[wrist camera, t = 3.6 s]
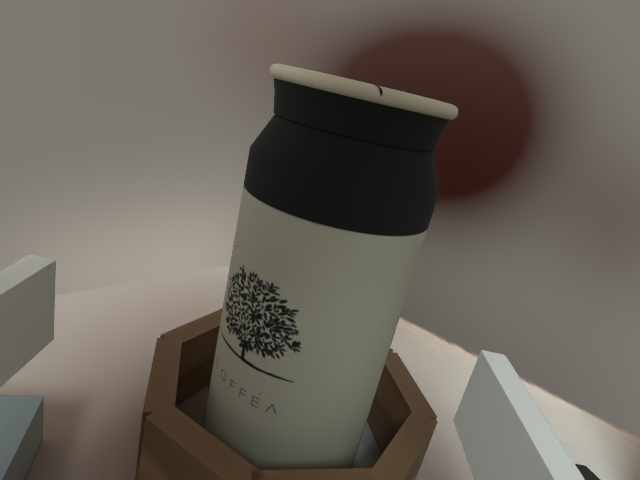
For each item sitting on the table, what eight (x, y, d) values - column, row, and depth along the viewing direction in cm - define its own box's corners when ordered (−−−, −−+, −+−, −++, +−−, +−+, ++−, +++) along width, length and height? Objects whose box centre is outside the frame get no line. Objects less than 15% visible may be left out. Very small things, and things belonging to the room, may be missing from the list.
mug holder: (359, 365, 31) (374, 316, 30) (452, 560, 19) (483, 491, 18) (158, 355, 28) (165, 298, 26) (115, 588, 15) (124, 504, 14)
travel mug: (299, 377, 29) (371, 88, 23) (383, 471, 23) (507, 118, 17) (178, 409, 24) (229, 53, 18) (245, 539, 18) (353, 77, 12)
